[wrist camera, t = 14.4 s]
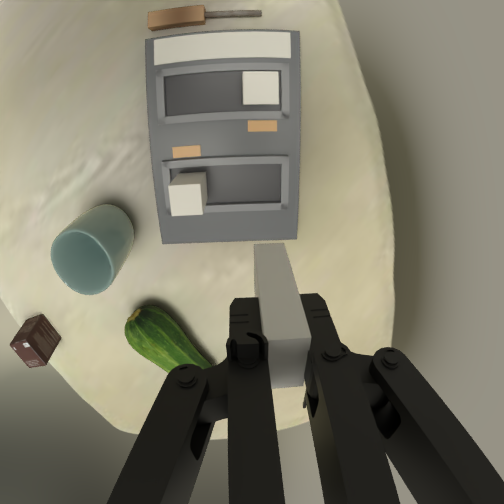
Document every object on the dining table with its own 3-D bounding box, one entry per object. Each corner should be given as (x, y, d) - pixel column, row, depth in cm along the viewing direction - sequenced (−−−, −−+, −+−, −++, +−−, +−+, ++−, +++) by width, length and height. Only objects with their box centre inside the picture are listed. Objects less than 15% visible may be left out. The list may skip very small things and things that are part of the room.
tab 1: (178, 173, 31) (168, 185, 26) (206, 171, 31) (200, 183, 26) (180, 199, 32) (171, 216, 28) (207, 198, 32) (202, 214, 28)
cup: (119, 185, 33) (83, 215, 24) (152, 236, 37) (128, 279, 28) (77, 215, 35) (38, 249, 26) (109, 260, 38) (80, 304, 29)
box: (44, 342, 46) (29, 368, 39) (26, 318, 43) (8, 344, 36) (62, 337, 45) (47, 366, 38) (43, 312, 42) (25, 340, 36)
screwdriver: (152, 31, 25) (147, 27, 23) (152, 16, 24) (148, 12, 22) (260, 23, 25) (262, 18, 24) (260, 8, 24) (261, 3, 23)
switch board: (150, 42, 25) (143, 38, 23) (295, 35, 26) (300, 29, 24) (165, 237, 37) (160, 247, 34) (294, 232, 37) (298, 242, 35)
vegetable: (134, 334, 33) (219, 413, 42) (164, 293, 38) (237, 377, 47) (107, 331, 37) (188, 405, 46) (135, 296, 43) (205, 373, 51)
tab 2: (242, 76, 26) (242, 71, 22) (272, 76, 26) (278, 71, 22) (242, 104, 28) (243, 104, 23) (272, 104, 28) (278, 104, 23)
